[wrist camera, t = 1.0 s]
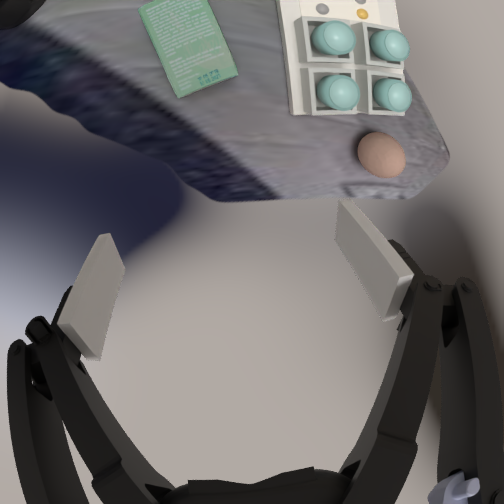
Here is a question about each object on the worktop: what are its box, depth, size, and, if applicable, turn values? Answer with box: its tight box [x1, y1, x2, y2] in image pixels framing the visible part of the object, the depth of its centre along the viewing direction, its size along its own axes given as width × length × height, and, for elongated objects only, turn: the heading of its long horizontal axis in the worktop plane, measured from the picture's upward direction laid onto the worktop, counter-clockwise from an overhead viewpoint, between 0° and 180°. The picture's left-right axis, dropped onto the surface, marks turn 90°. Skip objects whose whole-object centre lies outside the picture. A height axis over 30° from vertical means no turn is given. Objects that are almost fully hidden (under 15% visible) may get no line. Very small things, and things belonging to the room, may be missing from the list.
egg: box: [358, 132, 406, 178], centre depth 34 cm, size 7×7×9 cm
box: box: [138, 0, 239, 99], centre depth 24 cm, size 7×14×8 cm, turn 20°
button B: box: [317, 75, 360, 111], centre depth 27 cm, size 4×4×3 cm
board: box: [276, 0, 405, 116], centre depth 26 cm, size 20×18×6 cm
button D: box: [373, 78, 412, 112], centre depth 27 cm, size 4×4×3 cm
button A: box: [311, 20, 356, 55], centre depth 22 cm, size 4×4×3 cm
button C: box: [369, 30, 410, 61], centre depth 23 cm, size 4×4×3 cm
